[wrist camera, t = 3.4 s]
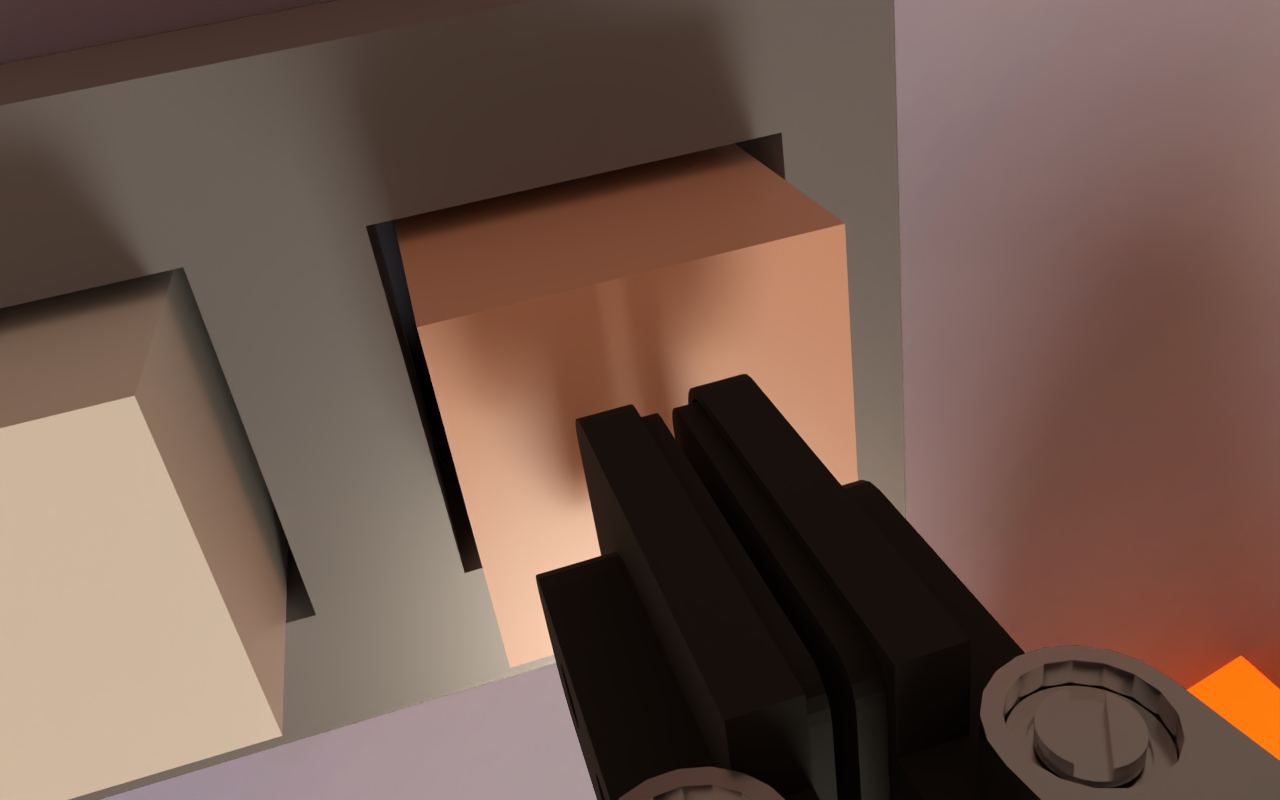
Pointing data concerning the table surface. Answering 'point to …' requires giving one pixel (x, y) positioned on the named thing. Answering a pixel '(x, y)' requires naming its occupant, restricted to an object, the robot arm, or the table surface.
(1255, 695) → the orange juice
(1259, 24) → the table surface
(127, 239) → the control panel
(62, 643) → the middle button
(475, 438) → the inner button
